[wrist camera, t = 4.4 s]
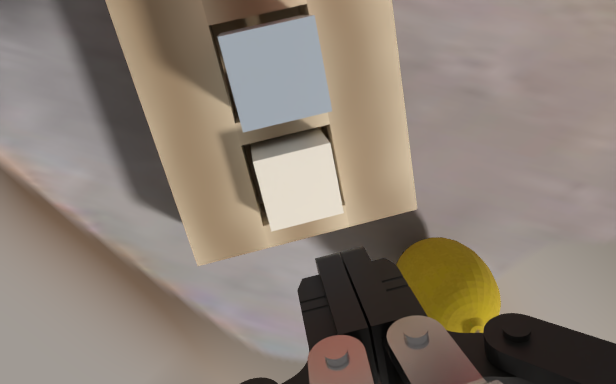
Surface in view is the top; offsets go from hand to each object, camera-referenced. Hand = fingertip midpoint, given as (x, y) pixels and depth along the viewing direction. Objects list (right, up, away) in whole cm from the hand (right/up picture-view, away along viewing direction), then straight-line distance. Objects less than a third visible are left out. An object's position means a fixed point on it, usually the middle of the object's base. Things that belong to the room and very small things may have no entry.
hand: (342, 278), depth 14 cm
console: (-3, +10, +11) cm, 15 cm away
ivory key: (-2, +4, +11) cm, 12 cm away
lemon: (+6, -1, +17) cm, 18 cm away
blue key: (-3, +8, +7) cm, 11 cm away
